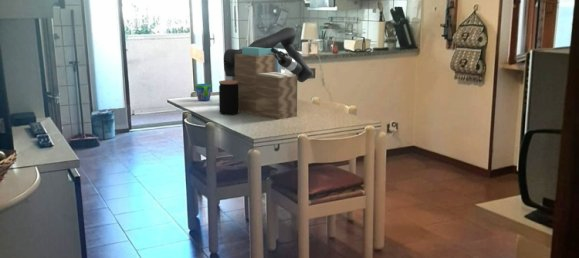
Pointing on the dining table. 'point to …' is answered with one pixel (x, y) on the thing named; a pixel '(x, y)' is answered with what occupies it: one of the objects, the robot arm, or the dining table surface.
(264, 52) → the t bar
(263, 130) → the dining table surface
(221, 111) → the coffee jar
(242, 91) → the step shelf
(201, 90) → the snack cup
